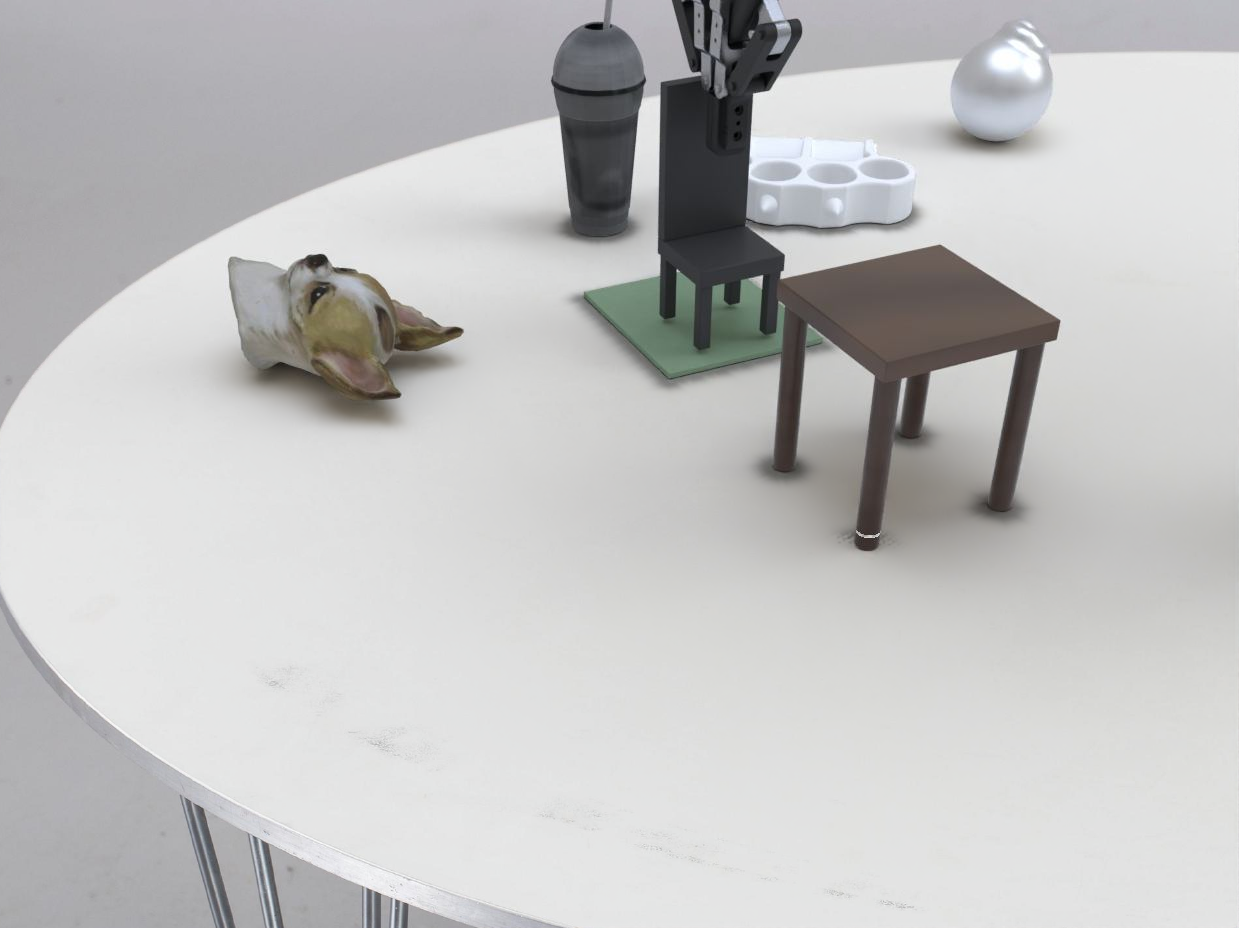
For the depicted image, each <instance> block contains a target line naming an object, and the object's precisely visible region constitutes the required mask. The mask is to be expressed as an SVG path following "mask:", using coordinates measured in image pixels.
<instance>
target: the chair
mask: <svg viewBox="0 0 1239 928" xmlns="http://www.w3.org/2000/svg"><path fill="white" fill-rule="evenodd" d="M659 94H660V95H659V98H660V99H659V145H658V146H659V147H658V149H659V151H658V208H657V209H658V210H657V211H658V213H657V217H658V218H657V254H658V255H660V257H659V258H660V261H659V262H660V263H659V264H660V265H659V276H660V308H659V314H660V316H661V317H663V318H664V319H669V318H674V317H676V280H677V272H681V273H682V274H683V275H685V276H686V277H687V278H688V279H689V280H691V281H692V282H693V283H694V284H695V311H694V340H693V345H694V346H695V347H696V348H697V349H698V350H703V349H707V348H710V337H711V314H712V291H713V286H716V285H721V284H724V301H725V302H726V303H727V304H728V305H733V304H737V303H740V291H741V280H744V279H748V280H749V279H752V278H757V277H762V283H761V284H762V285H761V290H762V297H761V312H760V327H759V330H760V331H761V332H762V333H763V334H765V335H769V334H773V333H776V329H777V316H778V303H779V302H780V301H779V300H778V299H777V285H778V280H779V279H781V273H782V272H784V271H785V261H786V255H785V253H783V252H782V251H781V250H779V248H777V247H775V246H774V245H772V244H771V243H770V242H769V241H767V240H766V239H765V238H763V237H762V236H760V235H759V234H758V233H756V232H755V231H754V230H752V229H751V228H750V227H748V226H747V218H746V212H747V194H748V177H749V159H750V142H751V135H752V124H753V122H752V121H753V108H754V107H753V105H754V94H752V95H751V97H750V100H749V112H748V129H747V143H746V148H745V150H744V151H743V152H742V153H740V154H735V155H730V156H725V157H720V156H718V155H717V154H715V153H714V152H712V151H711V150H709V149H708V148H707V147H706V125H707V101H708V91H705V90H704V89H703V86H702V83H701V74H700V75H694V76H689V77H683V78H676V79H671V80H665V81H661V82H660V93H659Z"/></svg>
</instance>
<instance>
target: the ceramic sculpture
mask: <svg viewBox="0 0 1239 928" xmlns="http://www.w3.org/2000/svg"><path fill="white" fill-rule="evenodd" d="M227 272H228V288H229V291H230V298H231V302H232V307H233V311H234V315H235V318H236V321H237V332H238V335H239V339H240V350H241V351H242V354H243V356H244V358H245V359H246V360H247V361H248V362H249V363H250V364H251V365H252V366H253V367H255V368H257V369H260V370H267V369H271V368H272V367H273V366H275V365H276V364H278V363H284V364H286V365H288V366H292V367H295V368H298V369H302V370H304V371H306V372H308V373H311V374H313V375H315V376H318V377H321V378H323V380H324V381H325V382H326V383H327V384H328V385H329V386H330V387H332V388H333V390H335V391H336V392H337V393H339V394H340V395H342V396H344V397H345V398H347V399H349V400H352V401H359V402H360V401H361V402H363V401H364V402H378V401H379V402H380V401H388V400H397V399H400V398H401V397H402V393H401V391H399V389H398V388H396V386H395V384H394V381H393V379H392V378H391V376H390V373H389V370H388V369H387V367H386V365H385V364H386V363H387V362H388V361H389V359H390V358H391V356H392V355H393V351H394V350H397V351H401V352H421V351H425V350H429V349H432V348H435V347H438V346H441V345H443V344H446V343H448V342H451V341H453V340H455V339H458V338H460V337H462V335H463V334H464V333H465V329H464V328H462V327H459V326H442V325H440V324H439V323H438V322H436V321H435V320H434V319H432V318H430V317H429V316H428V317H426V316H425V315H423V313H422V312H421V311H420V310H418V309H416V308H415V307H413V306H410V305H406V304H402V303H401V302H399V301H398V300H396V299H392V298H391V296H390V295H389V293H388V292H387V290H386V288H385V287H384V286H383V285H382V284H381V283H380V282H379V280H377V279H376V278H374V277H373V276H372V275H370V274H368V273H364V272H363V273H362V272H359V271H358V270H357V269H355V268H351V267H350V268H349V267H334V266H333V264H332V262H331V261H330V259H329V258H328V257H327V255H326V254H324V253H317V254H307V255H306V256H305V257H304V258H299V259H297V260H294V262H293V263H292V264H291V265H290V266H289V267H288V268H287V269H284V268H282V267H279V266H278V265H275V264H273V263H270V262H268V261H258V260H252V259H244V258H242V257H239V256H230V257H229V258H228V262H227Z"/></svg>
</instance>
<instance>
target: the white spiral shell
mask: <svg viewBox="0 0 1239 928" xmlns="http://www.w3.org/2000/svg"><path fill="white" fill-rule="evenodd" d="M1051 54H1052V44H1051V42H1050V41H1049V40H1048V38H1046V37H1045V36H1044V34H1043V33H1042V32H1041V30H1040V29H1039V27H1038V26H1037V25H1036V24H1034V23H1033V22H1032V20H1031V19H1028V18H1017V19H1012V20H1009V21H1006V22H1005V23H1004V24H1002V25H1001V26H1000V28H998V29H997V31H995V33H994V34H993V36H992V37H989V38H987V39H984V40H982V41H981V42H979V43H978V44H976V45H974V46H973V47H972V48H971V49H969V50H968V51H967V52H966V53H965V54H964V56H963V57H962V58H961V59H960V61H959V63H958V64H957V66H956V69H955V70H954V73H953V76H952V79H951V81H950V82H951V83H950V91H949V93H950V95H949V96H950V104H951V109H952V111H953V114H954V116H955V118H956V120H957V121H958V123H959V125H961V127H962V128H963V129H964V130H965V131H967V132H968V133H969V134H971V135H972V136H974V137H976V138H978V139H981V140H983V141H988V142H1005V141H1010V140H1013V139H1015V138H1016V139H1017V138H1018V137H1020V136H1022V135H1024V134H1026V133H1027V132H1029V131H1030V130H1031V129H1032V128H1033V127H1035V126H1036V125H1037V124H1038V123H1039V121H1040V120H1041V119H1042V118H1043V116H1044V115H1045V113H1046V111H1047V110H1048V107H1049V105H1050V102H1051V99H1052V95H1053V91H1054V76H1053V70H1052V68H1051V65H1050V61H1049V59H1050V56H1051Z"/></svg>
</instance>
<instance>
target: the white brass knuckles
mask: <svg viewBox="0 0 1239 928" xmlns="http://www.w3.org/2000/svg"><path fill="white" fill-rule="evenodd" d="M877 151H878V143H877V142H875V141H874V140H873V139H865V140H864V141H849V140H848V141H847V140H829V139H813V137H811V136H804V137H803V138H791V137H790V138H789V137H788V138H787V137H768V136H766V137H765V136H753V135H752V134H751V142H750V159H749V177H748V194H747V212H746V220H747V219H748V220H751V221H752V222H755V223H757V224H765V225H771V226H778V227H779V226H780V227H781V226H787V225H788V226H789V225H798V226H799V225H800V226H808V227H809V226H810V227H814V228H818V229H826V228H842V227H845V226H848V225H852V224H854V225H855V224H861V223H872V224H873V223H874V224H883V225H889V224H895V223H898V222H902V221H903V220H906V219H907V218H909V216H910V215H911V213H912V210H913V203H914V195H915V188H916V181H917V180H916V179H917V171H916V168H914V166H913V165H911V164H910V163H908V162H906V161H904V160H901V159H897V158H894V157H888V156H883V155H881V154H879V153H877Z"/></svg>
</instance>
